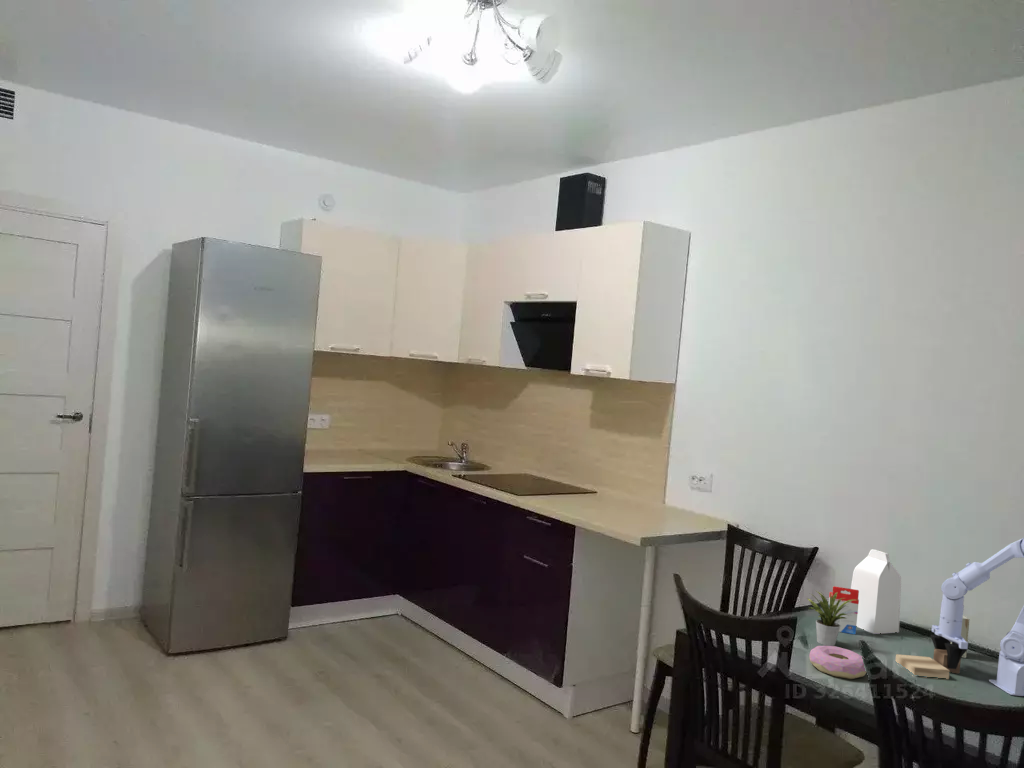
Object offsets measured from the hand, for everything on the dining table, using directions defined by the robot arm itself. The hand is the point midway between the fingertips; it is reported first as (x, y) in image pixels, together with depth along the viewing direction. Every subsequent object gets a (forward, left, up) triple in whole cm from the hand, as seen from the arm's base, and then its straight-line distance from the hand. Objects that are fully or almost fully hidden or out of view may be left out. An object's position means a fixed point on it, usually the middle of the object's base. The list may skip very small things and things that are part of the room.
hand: (946, 664), depth 222 cm
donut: (-8, +36, -2) cm, 37 cm away
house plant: (+15, +28, -2) cm, 32 cm away
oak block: (-3, +9, -2) cm, 10 cm away
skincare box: (+15, -12, -2) cm, 19 cm away
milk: (+36, +4, -2) cm, 36 cm away
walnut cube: (0, 0, -1) cm, 1 cm away
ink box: (+29, +18, -2) cm, 34 cm away
